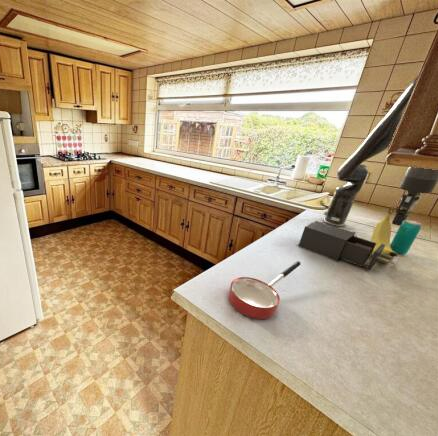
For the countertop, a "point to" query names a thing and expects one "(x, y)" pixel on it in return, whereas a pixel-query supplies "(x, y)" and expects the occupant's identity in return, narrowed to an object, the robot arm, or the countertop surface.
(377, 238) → the banana
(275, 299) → the frying pan
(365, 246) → the block
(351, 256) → the basket
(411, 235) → the beverage can
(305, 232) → the block
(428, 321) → the countertop surface
